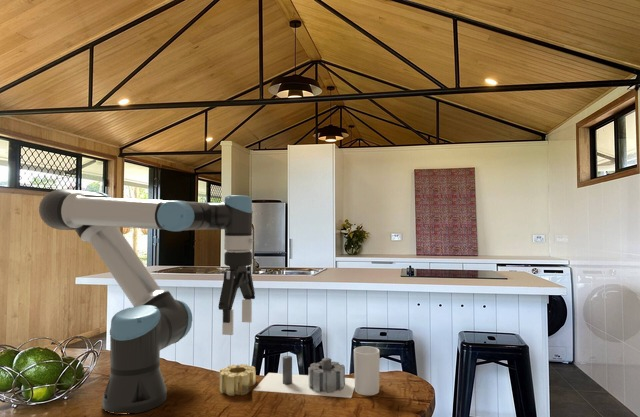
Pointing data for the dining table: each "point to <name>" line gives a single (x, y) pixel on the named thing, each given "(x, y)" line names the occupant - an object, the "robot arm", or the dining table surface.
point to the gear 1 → (237, 379)
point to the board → (300, 381)
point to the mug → (366, 370)
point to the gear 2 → (326, 377)
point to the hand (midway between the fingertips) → (237, 328)
